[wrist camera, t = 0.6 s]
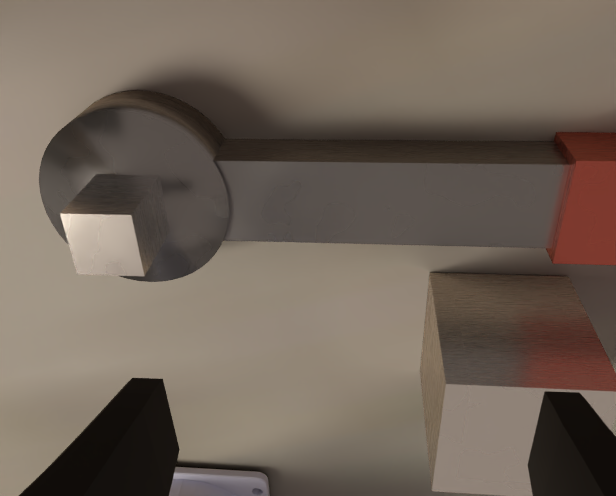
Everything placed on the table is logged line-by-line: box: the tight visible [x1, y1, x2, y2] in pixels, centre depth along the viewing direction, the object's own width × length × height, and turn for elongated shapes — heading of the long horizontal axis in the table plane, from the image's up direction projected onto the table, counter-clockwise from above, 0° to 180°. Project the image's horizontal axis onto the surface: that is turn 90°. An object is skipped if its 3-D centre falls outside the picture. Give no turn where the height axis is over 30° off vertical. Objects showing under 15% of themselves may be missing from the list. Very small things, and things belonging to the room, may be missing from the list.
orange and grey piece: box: [39, 90, 616, 282], centre depth 18 cm, size 6×22×4 cm, turn 92°
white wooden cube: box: [420, 273, 616, 496], centre depth 20 cm, size 5×5×6 cm
